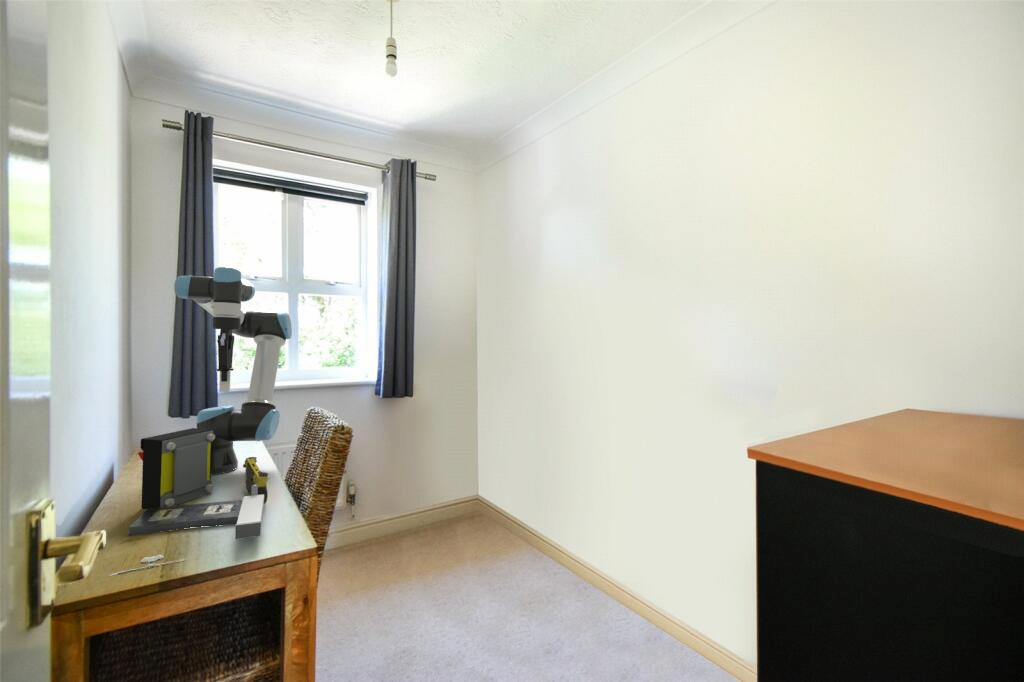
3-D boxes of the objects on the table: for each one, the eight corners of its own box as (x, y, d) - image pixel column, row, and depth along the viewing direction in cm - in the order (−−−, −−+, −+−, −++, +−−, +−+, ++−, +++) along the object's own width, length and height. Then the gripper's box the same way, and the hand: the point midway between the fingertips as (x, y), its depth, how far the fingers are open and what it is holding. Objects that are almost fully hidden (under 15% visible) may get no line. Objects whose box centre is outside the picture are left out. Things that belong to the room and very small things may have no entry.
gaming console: (241, 486, 156) (242, 456, 156) (255, 484, 159) (256, 455, 159) (252, 510, 136) (253, 475, 136) (268, 507, 138) (269, 473, 138)
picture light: (108, 578, 97) (108, 568, 97) (110, 570, 100) (111, 560, 100) (190, 561, 105) (191, 551, 105) (190, 554, 108) (190, 545, 108)
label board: (148, 515, 129) (149, 486, 129) (260, 505, 139) (260, 478, 139) (128, 535, 116) (129, 502, 116) (253, 522, 126) (254, 492, 126)
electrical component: (165, 511, 132) (167, 440, 132) (135, 508, 134) (137, 438, 134) (216, 492, 149) (218, 429, 150) (189, 489, 152) (191, 427, 152)
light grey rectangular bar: (243, 507, 130) (243, 496, 130) (264, 505, 132) (264, 493, 132) (235, 539, 110) (235, 525, 110) (260, 535, 112) (260, 522, 112)
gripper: (217, 317, 153) (215, 389, 153) (208, 315, 141) (205, 394, 140) (243, 318, 155) (241, 389, 155) (236, 316, 143) (234, 393, 143)
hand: (224, 391), depth 148 cm, fingers closed
